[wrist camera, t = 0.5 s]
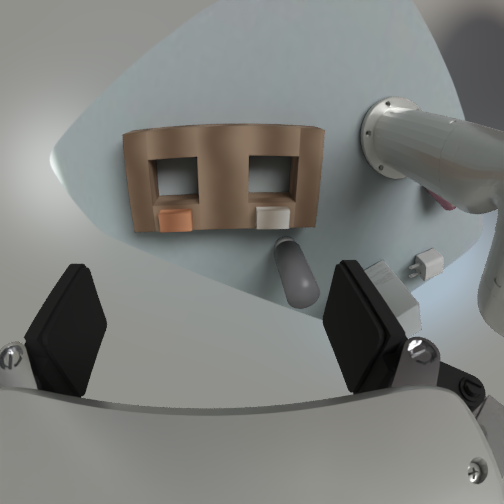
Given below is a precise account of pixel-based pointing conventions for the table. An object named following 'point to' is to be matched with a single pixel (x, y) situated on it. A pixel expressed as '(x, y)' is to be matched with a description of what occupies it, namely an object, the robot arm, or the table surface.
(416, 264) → the usb wall charger
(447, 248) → the table surface
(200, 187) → the socket block
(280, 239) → the charcoal plug
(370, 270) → the supplement box
